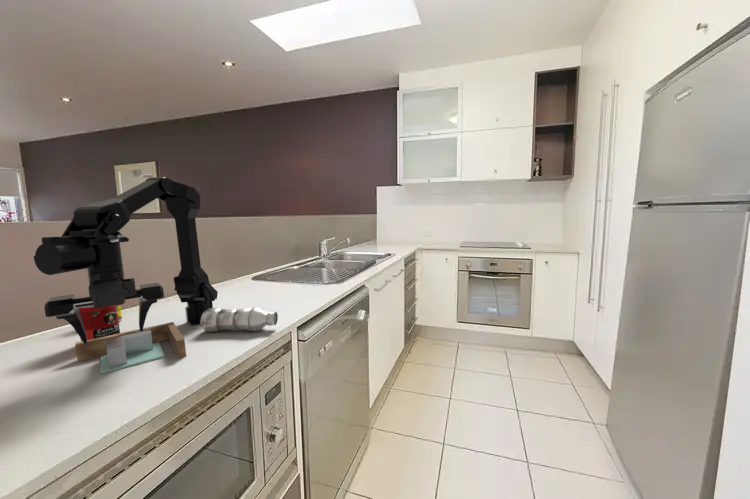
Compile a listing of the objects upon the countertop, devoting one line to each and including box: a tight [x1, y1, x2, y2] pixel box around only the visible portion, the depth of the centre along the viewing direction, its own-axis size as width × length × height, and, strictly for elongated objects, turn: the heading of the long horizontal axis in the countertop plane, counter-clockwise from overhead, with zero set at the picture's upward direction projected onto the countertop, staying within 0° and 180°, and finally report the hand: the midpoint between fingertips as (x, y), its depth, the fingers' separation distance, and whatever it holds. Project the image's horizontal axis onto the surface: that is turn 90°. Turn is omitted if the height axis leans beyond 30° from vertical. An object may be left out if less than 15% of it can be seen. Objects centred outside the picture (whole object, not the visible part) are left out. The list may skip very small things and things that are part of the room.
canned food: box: [77, 305, 121, 342], centre depth 80 cm, size 8×8×11 cm
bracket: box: [107, 330, 153, 368], centre depth 71 cm, size 8×8×4 cm
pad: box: [100, 342, 165, 375], centre depth 71 cm, size 11×10×1 cm
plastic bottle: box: [200, 306, 279, 333], centre depth 86 cm, size 6×7×20 cm
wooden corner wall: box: [74, 321, 187, 362], centre depth 71 cm, size 19×16×4 cm
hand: (114, 336), depth 68 cm, fingers open, 9 cm apart
